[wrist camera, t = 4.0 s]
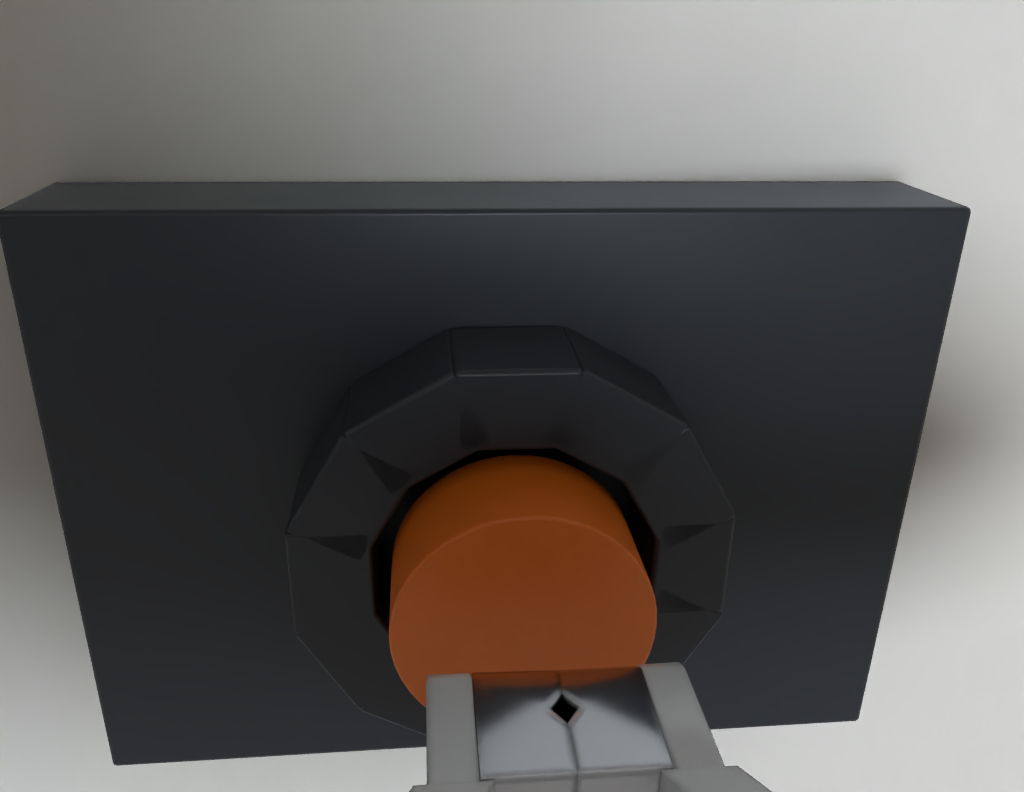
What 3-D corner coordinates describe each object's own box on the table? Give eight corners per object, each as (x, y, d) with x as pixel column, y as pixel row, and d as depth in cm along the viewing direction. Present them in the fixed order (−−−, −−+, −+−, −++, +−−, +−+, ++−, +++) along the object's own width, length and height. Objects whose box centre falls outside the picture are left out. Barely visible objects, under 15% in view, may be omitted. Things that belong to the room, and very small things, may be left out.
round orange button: (396, 660, 14) (393, 745, 12) (387, 457, 13) (382, 522, 11) (622, 649, 14) (647, 730, 13) (638, 449, 13) (668, 512, 11)
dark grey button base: (146, 682, 18) (77, 854, 14) (53, 181, 14) (-76, 244, 10) (813, 647, 19) (905, 796, 16) (901, 181, 15) (1051, 236, 12)
